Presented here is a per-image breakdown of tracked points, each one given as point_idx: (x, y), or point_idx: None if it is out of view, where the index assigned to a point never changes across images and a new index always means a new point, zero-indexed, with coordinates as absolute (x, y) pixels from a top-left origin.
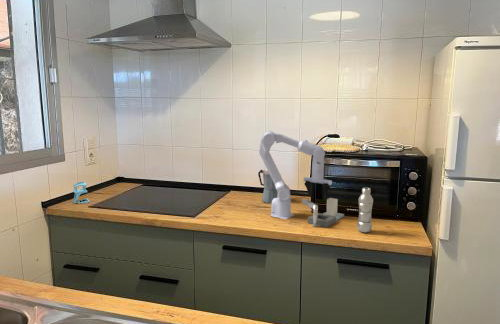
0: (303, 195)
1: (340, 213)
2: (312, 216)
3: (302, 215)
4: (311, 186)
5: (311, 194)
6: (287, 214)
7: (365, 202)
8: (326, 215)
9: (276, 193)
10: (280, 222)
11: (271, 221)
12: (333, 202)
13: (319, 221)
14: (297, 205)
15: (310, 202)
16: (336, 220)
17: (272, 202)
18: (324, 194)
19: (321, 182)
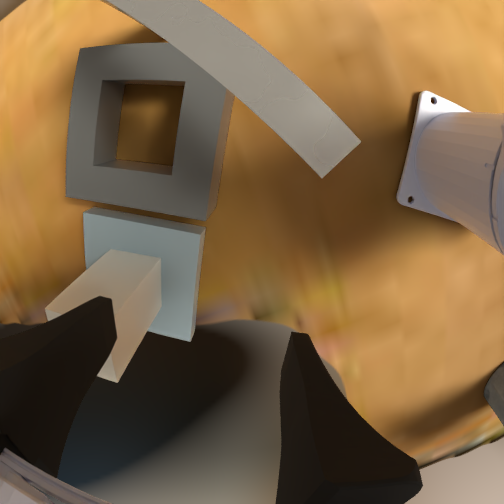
0: None
1: None
2: (209, 101)
3: (341, 235)
4: (284, 475)
5: (281, 379)
6: (435, 128)
7: None
8: (122, 187)
9: (502, 414)
10: (427, 30)
11: (476, 40)
12: (60, 302)
13: (134, 44)
14: (397, 391)
15: (167, 8)
16: (90, 209)
17: None
18: (59, 317)
19: (11, 475)
